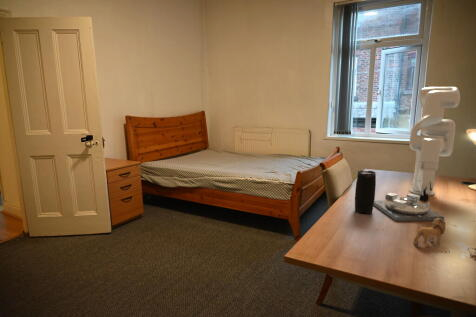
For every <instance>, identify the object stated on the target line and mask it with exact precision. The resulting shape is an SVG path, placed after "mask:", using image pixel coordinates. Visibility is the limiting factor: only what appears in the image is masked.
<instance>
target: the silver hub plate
mask: <svg viewBox="0 0 476 317" xmlns="http://www.w3.org/2000/svg"><path fill="white" fill-rule="evenodd" d="M384 199H385V200H384V201H385V206H386V207H387V208H389V209H391V210H393V211H396V212H400V213H405V214H413V215H421V214H426V213H428V208H429V209H430V205H431V202H430V201H429V200H428V201H424V200H421V201H419V200H420V194H415V193H412V192H411V193H408V194H406V196H398V193H393V192H388V193H386V194H385V198H384Z"/></svg>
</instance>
